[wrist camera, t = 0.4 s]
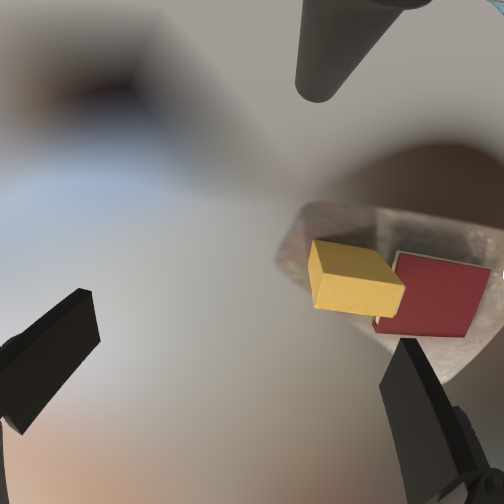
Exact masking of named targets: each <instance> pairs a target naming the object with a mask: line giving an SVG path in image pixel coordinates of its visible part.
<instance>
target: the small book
mask: <svg viewBox="0 0 504 504" xmlns="http://www.w3.org/2000/svg"><path fill="white" fill-rule="evenodd" d="M308 271H309V277H310V283H311V289H312V295H313V301H314V307H315V308H320V309H327V310H334V311H342V312H349V313H357V314H365V315H373V316H382V317H390V318H393V317H394V315H396V313H397V310H398V307H399V305H400V302H401V299H402V296H403V293H404V291H405V288H406V287H405V285H404V284H403V283H402V281H401V280H400V279H399V278H398V277H397V275H396V274H395V273H394V272H393V270H392V269H391V268H390V267H389V266H388V264H387V263H386V262H385V261H384V260H383V259H382V257H381V256H380V255H379V254H378V253H377V252H376V250H372V249H366V248H361V247H355V246H350V245H344V244H338V243H333V242H327V241H321V240H315V239H313V242H312V247H311V252H310V257H309V262H308Z"/></svg>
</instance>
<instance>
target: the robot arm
mask: <svg viewBox="0 0 504 504" xmlns="http://www.w3.org/2000/svg"><path fill="white" fill-rule="evenodd" d="M488 1H489V2H491V3H492V4H493V5H494V6H495V7H496V8H497V9H498V10H499V11H500V12H501V13H502V14H503V15H504V0H488ZM100 341H101V340H100V336H99V331H98V326H97V322H96V315H95V311H94V304H93V298H92V292H91V291H89V290H85V289H81V288H78V289H77V290H75V291H74V292H73V293H71V294H70V295H69V296H67V297H66V298H65V299H63V300H62V301H61V302H60V303H58V304H57V305H56V306H54V307H53V308H52V309H51V310H50V311H48V312H47V313H46V314H45V315H43V316H42V317H41V318H39V319H38V320H37V321H36V322H34V324H32V325H31V326H30V327H28V328H27V329H26V330H25V331H24V332H22V333H21V334H18V335H16V336H14V337H12V338H10V339H9V340H7V341H6V342H5V343H4V344H3V345H2V347H0V419H1V418H2V417H3V418H4V419H5V421H6V422H7V423H8V425H9V426H10V427H11V428H13V429H14V430H15V431H17V432H18V433H19V434H21V435H23V433H24V432H25V431H26V430H27V429H28V427H29V426H30V425H31V423H32V422H33V421H34V420H35V418H36V417H37V416H38V414H39V413H40V412H41V411H42V410H43V408H44V407H45V406H46V405H47V403H48V402H49V401H50V400H51V399H52V397H53V396H54V395H55V394H56V393H57V391H58V390H59V389H60V388H61V386H62V385H63V384H64V383H65V382H66V381H67V379H68V378H69V377H70V376H71V375H72V373H73V372H74V371H75V370H76V369H77V368H78V367H79V365H80V364H81V363H82V362H83V361H84V360H85V358H86V357H87V356H88V355H89V354H90V353H91V352H92V350H93V349H94V348H95V347H96V346H97V345H98V344H99V342H100ZM379 388H380V392H381V395H382V399H383V402H384V405H385V409H386V413H387V416H388V420H389V424H390V428H391V431H392V435H393V439H394V443H395V447H396V451H397V455H398V460H399V464H400V468H401V473H402V478H403V482H404V487H405V492H406V497H407V503H408V504H437V503H438V502H439V504H504V472H502V471H501V470H499V469H496V468H490V466H489V464H488V462H487V459H486V457H485V454H484V452H483V450H482V447H481V445H480V443H479V440H478V439H477V436H475V431H474V429H473V428H471V423H470V421H469V419H468V417H467V415H466V414H465V413H464V412H463V411H462V410H461V408H460V407H459V406H453V407H452V406H451V404H450V402H449V400H448V398H447V396H446V394H445V392H444V390H443V388H442V386H441V384H440V382H439V380H438V378H437V376H436V374H435V372H434V370H433V368H432V366H431V365H430V363H429V361H428V359H427V357H426V355H425V354H424V352H423V350H422V348H421V346H420V345H419V343H418V341H417V339H416V338H400V341H399V343H398V345H397V348H396V350H395V352H394V355H393V357H392V359H391V362H390V364H389V366H388V368H387V370H386V372H385V375H384V377H383V379H382V381H381V383H380V385H379ZM2 437H3V432H2V423H1V421H0V504H9V499H8V493H7V486H6V478H5V469H4V457H3V438H2Z"/></svg>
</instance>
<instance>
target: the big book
mask: <svg viewBox="0 0 504 504" xmlns="http://www.w3.org/2000/svg"><path fill="white" fill-rule="evenodd" d="M392 270H393V272H394V273H395V274H396V275H397V277H398V278H399V279H400V280H401V281H402V283H403V284H404V285H405V287H406V288H405V291H404V293H403V296H402V299H401V302H400V305H399V307H398V310H397V313H396V315H394V317H393V318H390V317H382V316H377V317H376V320H375V321H373V323H372V325H373V327H374V330H375V332H376V333H384V334H397V335H413V336H433V337H463V338H464V337H465V335H466V333H467V331H468V329H469V326H470V324H471V322H472V320H473V317H474V315H475V313H476V310H477V308H478V305H479V303H480V300H481V298H482V295H483V292H484V290H485V287H486V284H487V281H488V278H489V275H490V272H491V270H490V269H486V268H484V267H482V266H480V265H475V264H470V263H464V262H459V261H454V260H449V259H443V258H438V257H432V256H427V255H421V254H416V253H410V252H405V251H399V250H396V254H395V258H394V261H393V265H392Z"/></svg>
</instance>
